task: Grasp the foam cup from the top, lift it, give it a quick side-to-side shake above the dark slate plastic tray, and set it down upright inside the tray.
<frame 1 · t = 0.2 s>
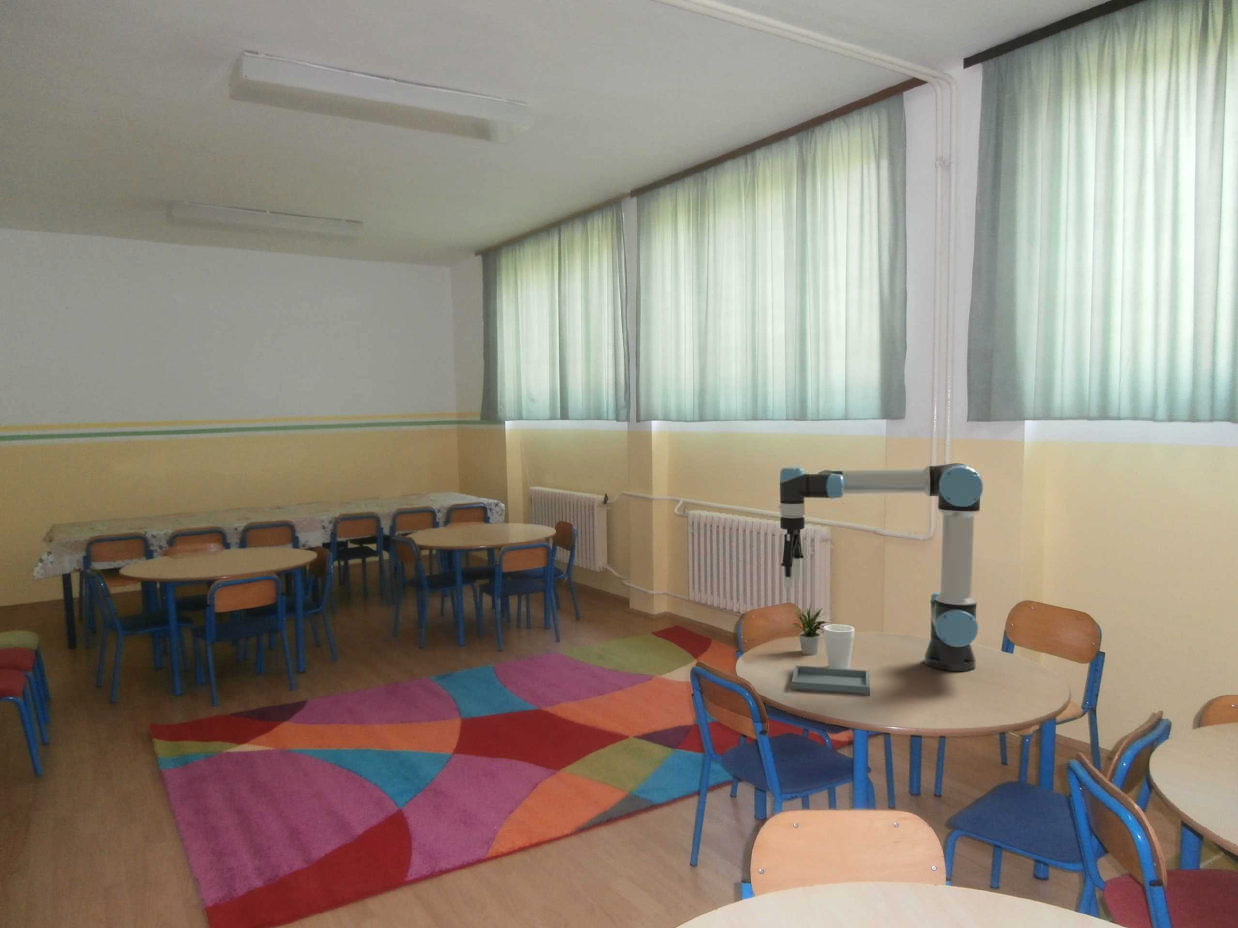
hand: (792, 582, 265), 27 cm above the table, tool pointing down, fingers open, 13 cm apart
house plant: (806, 653, 282), on the table
foam cup: (839, 669, 264), on the table
tray: (831, 683, 249), on the table
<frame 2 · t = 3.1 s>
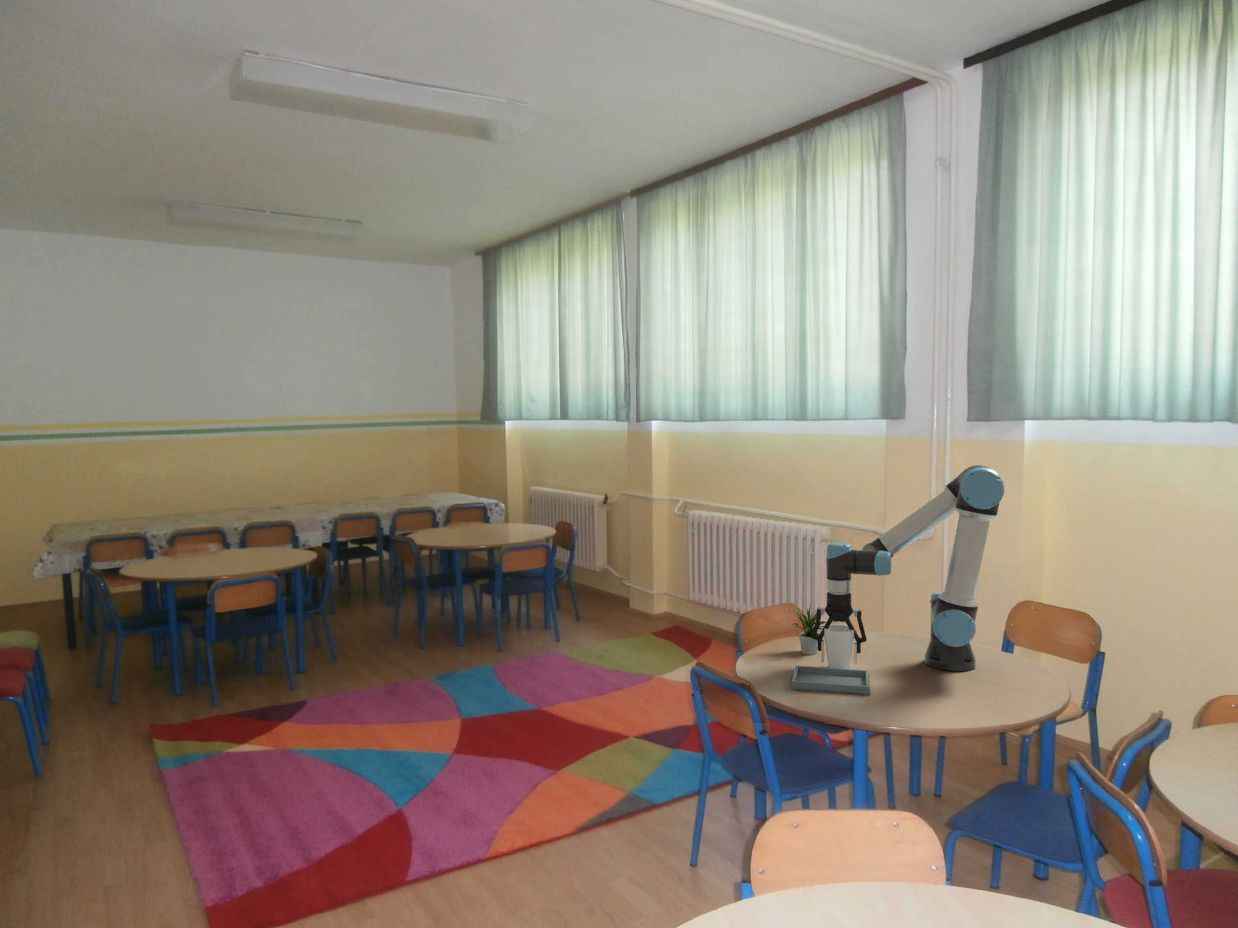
hand: (839, 661, 264), 2 cm above the table, tool pointing down, fingers closed on foam cup, 9 cm apart
foam cup: (839, 669, 264), on the table, touching gripper
everything else where it was.
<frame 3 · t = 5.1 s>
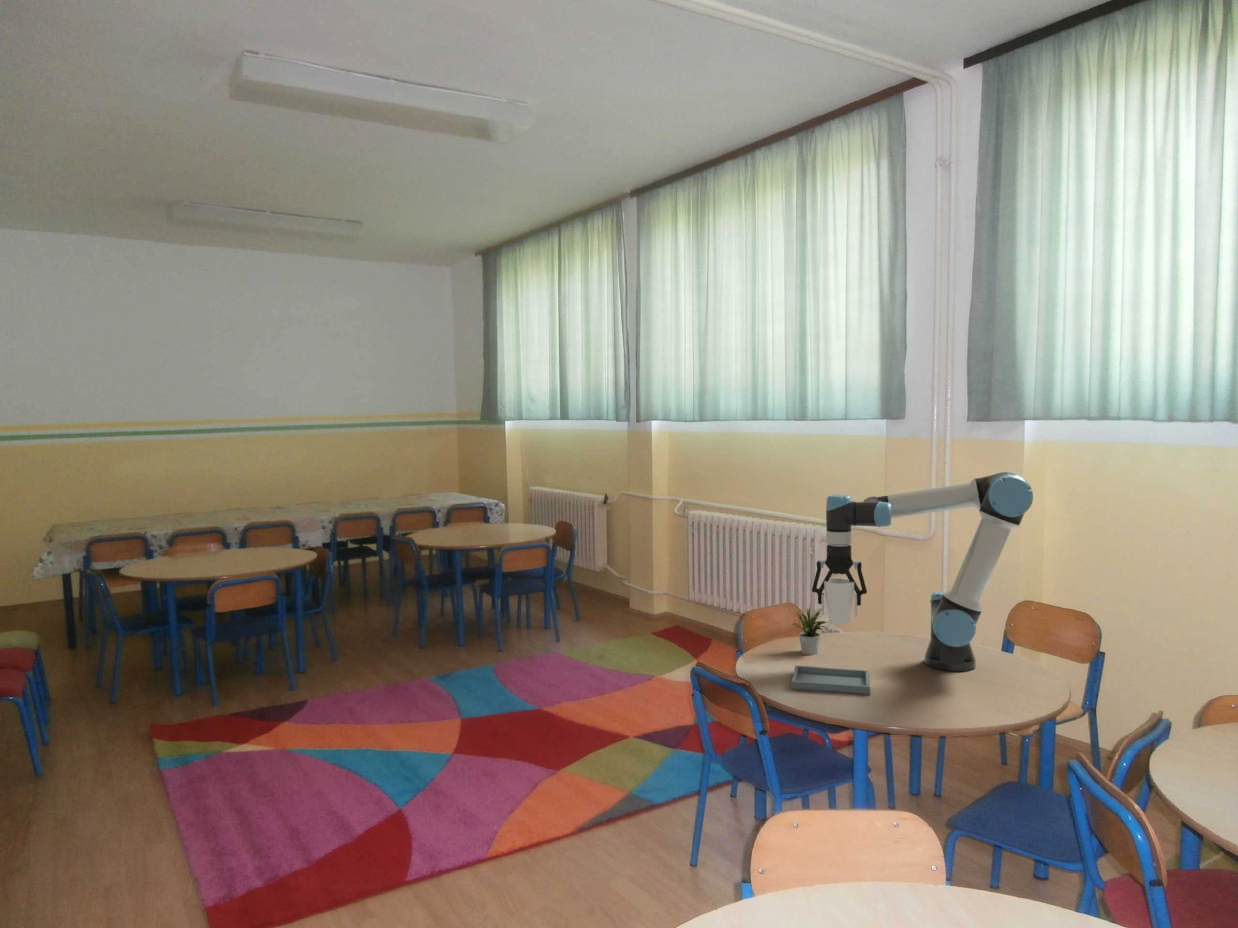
hand: (839, 614, 263), 17 cm above the table, tool pointing down, fingers closed on foam cup, 9 cm apart
foam cup: (839, 621, 263), point 15 cm above the table, touching gripper
everything else where it was.
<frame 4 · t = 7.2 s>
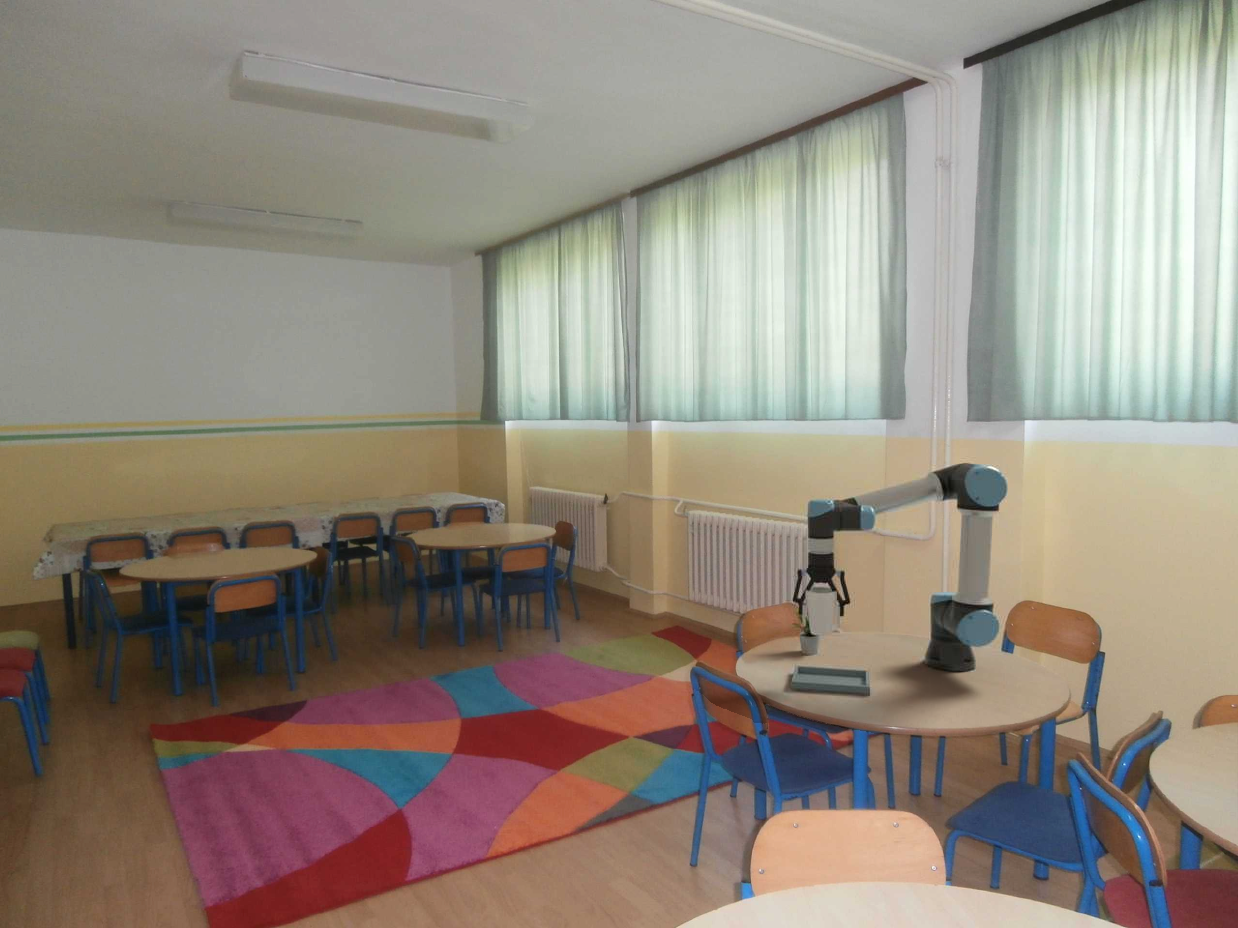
hand: (821, 626, 249), 17 cm above the table, tool pointing down, fingers closed on foam cup, 9 cm apart
foam cup: (821, 633, 249), point 15 cm above the table, touching gripper
everything else where it was.
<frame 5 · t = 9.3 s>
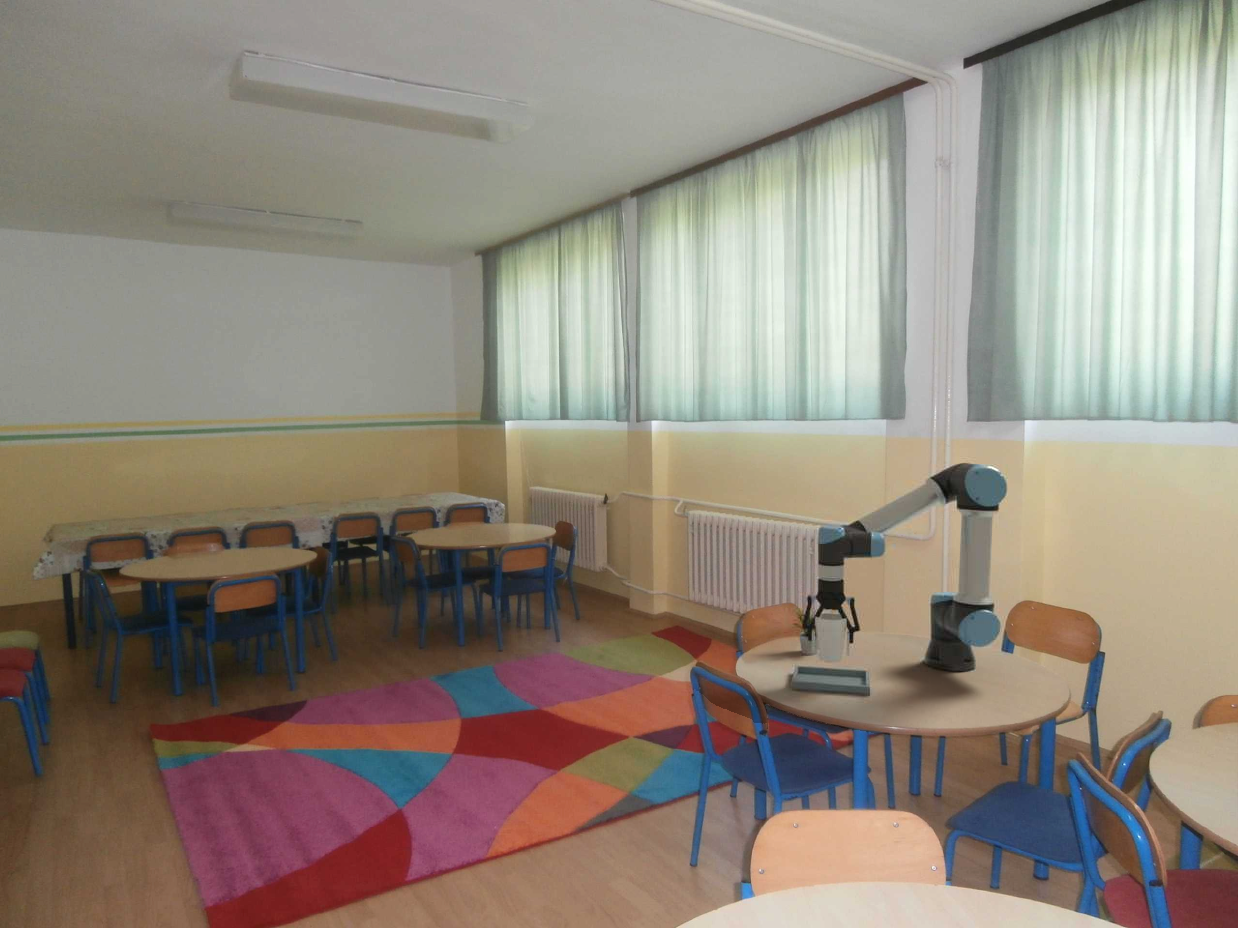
hand: (830, 652, 249), 10 cm above the table, tool pointing down, fingers closed on foam cup, 9 cm apart
foam cup: (830, 660, 249), point 7 cm above the table, touching gripper
everything else where it was.
when the fingers open (4 cm above the table, at t = 11.2 s): foam cup drops 1 cm, resting on tray.
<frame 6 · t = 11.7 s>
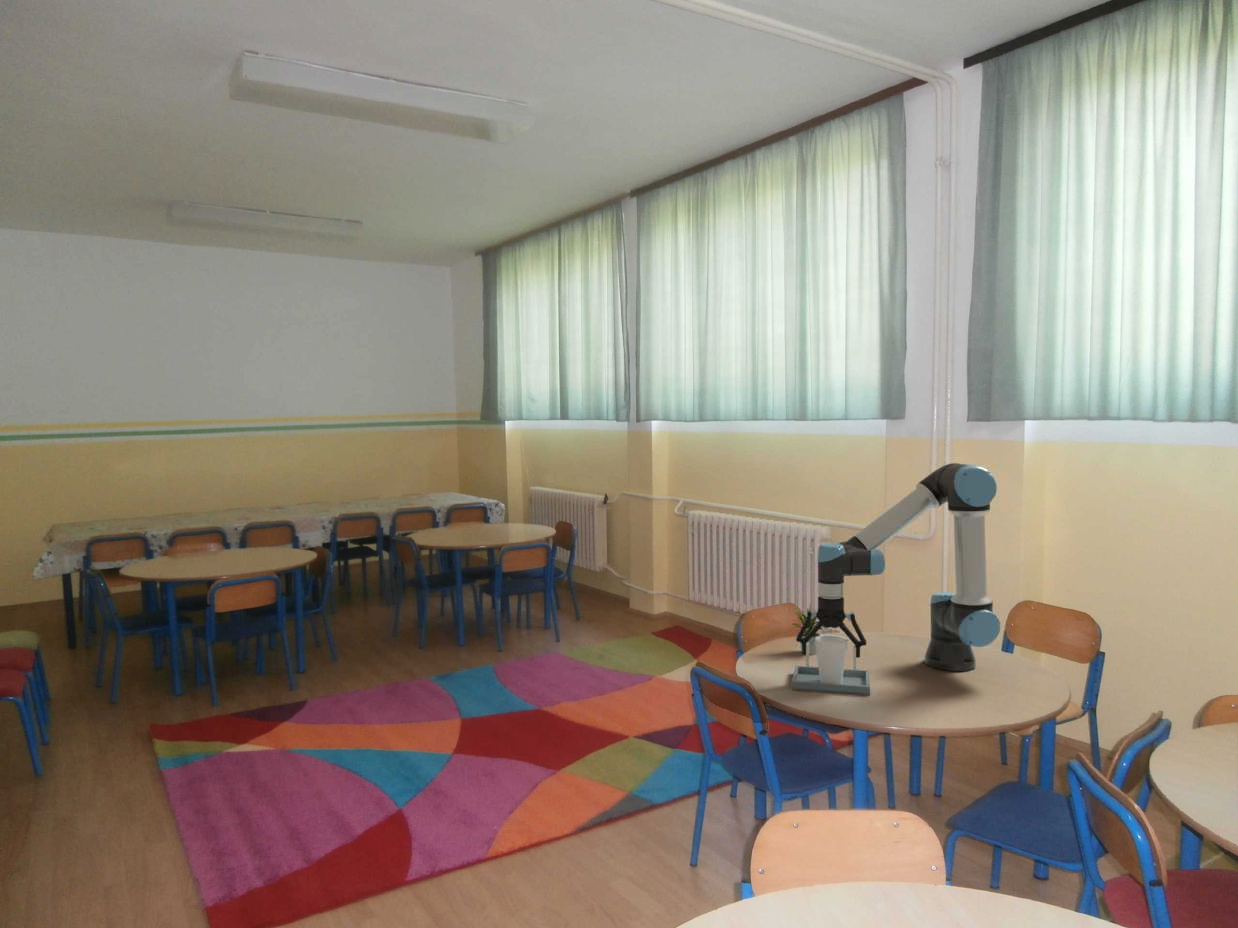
hand: (831, 666, 249), 5 cm above the table, tool pointing down, fingers open, 13 cm apart
foam cup: (831, 682, 249), resting on tray
everything else where it was.
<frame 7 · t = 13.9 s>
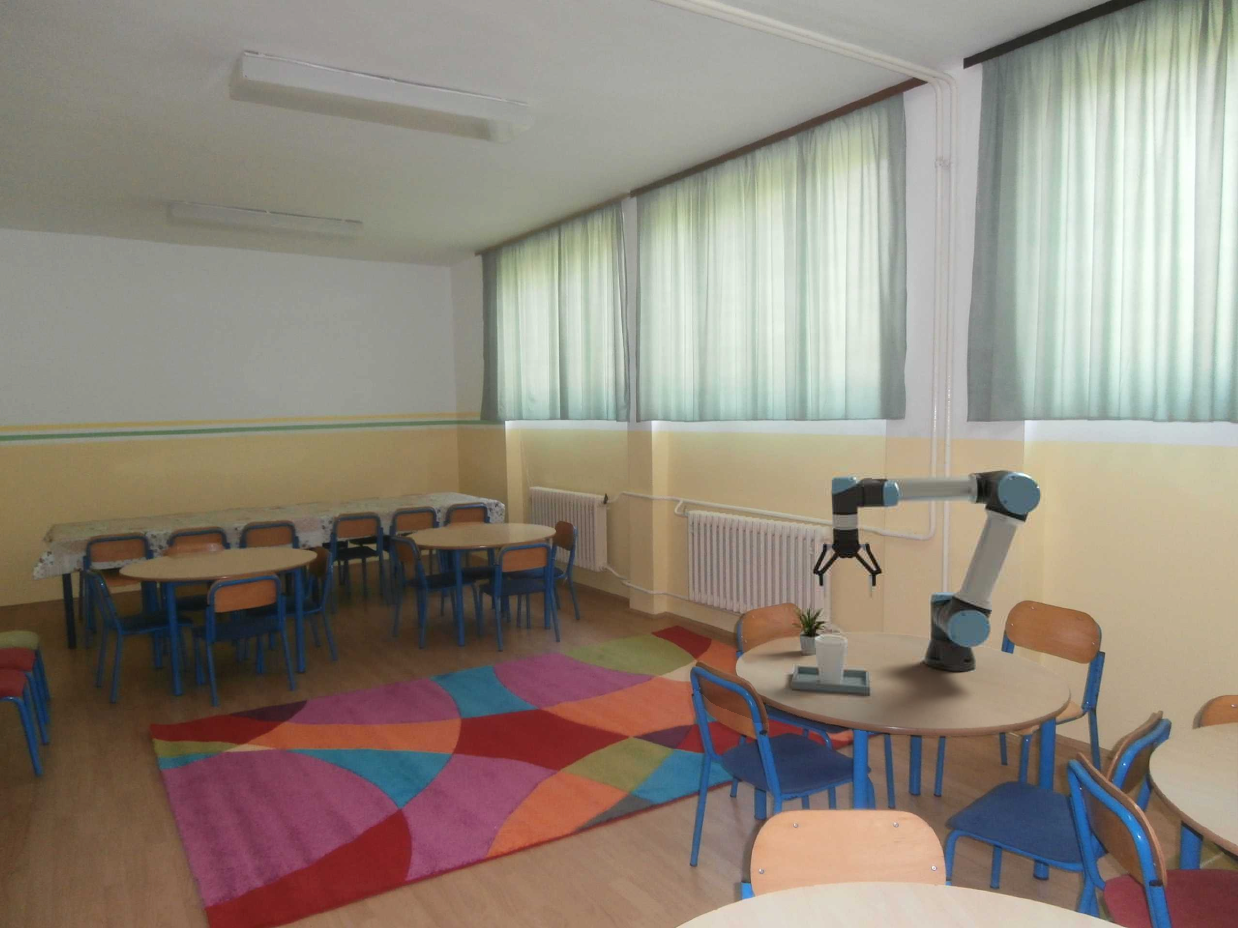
hand: (847, 596, 255), 25 cm above the table, tool pointing down, fingers open, 13 cm apart
nothing on the table moved.
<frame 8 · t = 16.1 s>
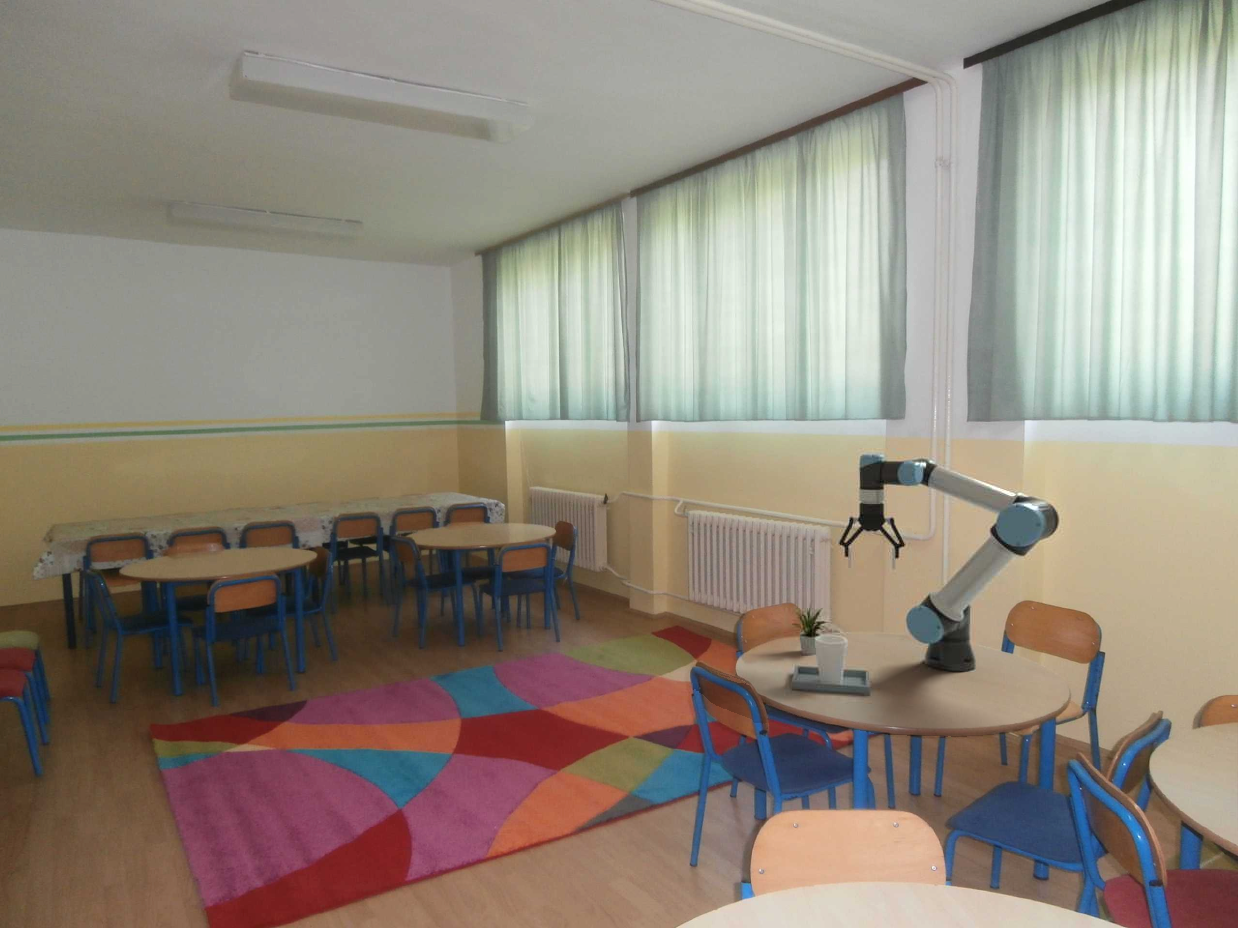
hand: (871, 567, 269), 31 cm above the table, tool pointing down, fingers open, 13 cm apart
nothing on the table moved.
at the end: foam cup inside the target area on the tray (0.0 cm from its centre), point 0.4 cm above the tray's base; foam cup tilted 0°; the gripper is holding nothing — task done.
